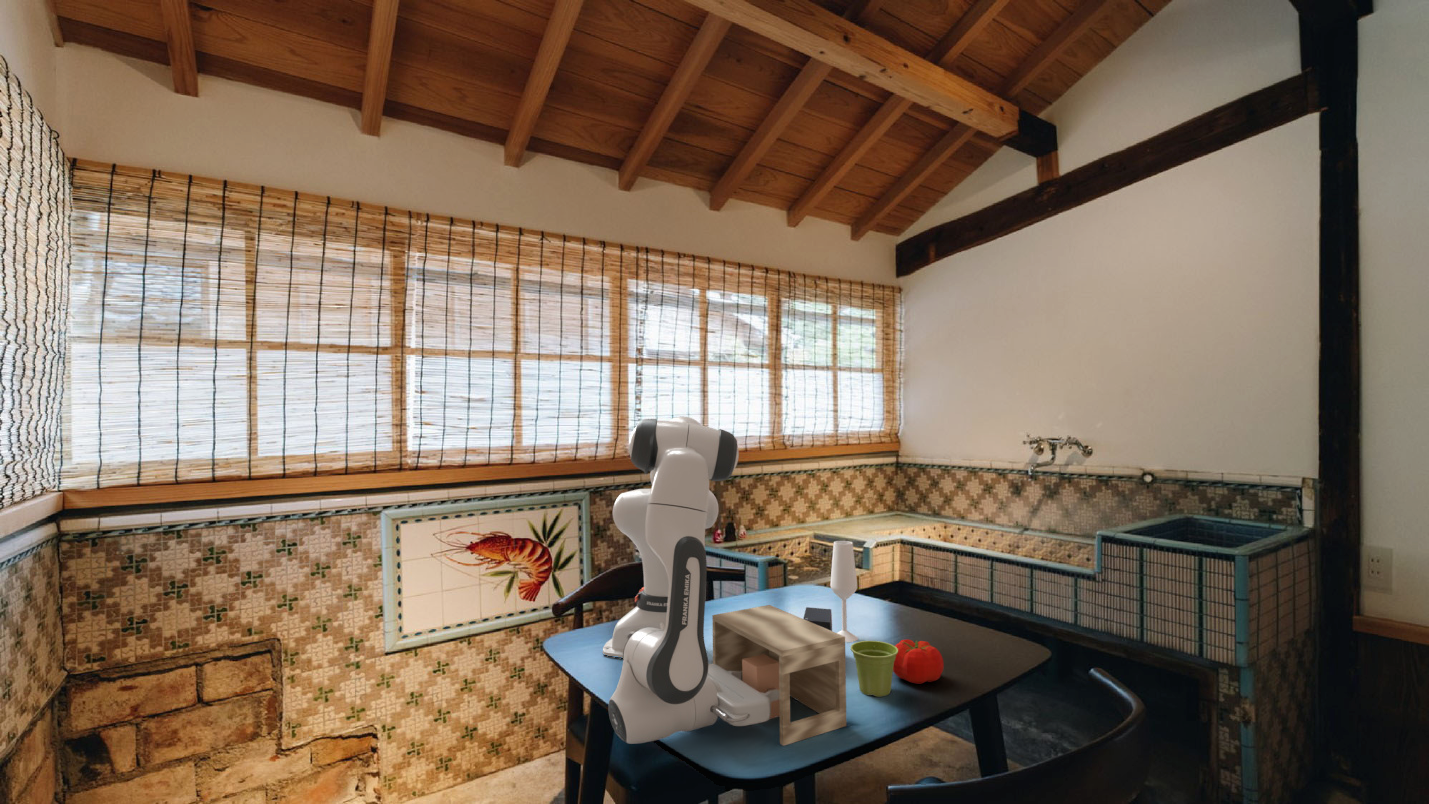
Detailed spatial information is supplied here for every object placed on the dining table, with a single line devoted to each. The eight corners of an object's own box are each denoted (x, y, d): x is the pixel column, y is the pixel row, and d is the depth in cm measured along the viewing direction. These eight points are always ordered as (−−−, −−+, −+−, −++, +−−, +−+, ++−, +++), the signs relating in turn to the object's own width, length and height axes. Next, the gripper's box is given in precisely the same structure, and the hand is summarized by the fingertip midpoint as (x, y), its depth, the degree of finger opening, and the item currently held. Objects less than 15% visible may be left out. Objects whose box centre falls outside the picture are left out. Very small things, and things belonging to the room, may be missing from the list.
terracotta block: (757, 722, 120) (756, 667, 121) (742, 712, 125) (742, 659, 125) (779, 716, 123) (779, 662, 123) (764, 706, 127) (763, 654, 128)
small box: (831, 668, 146) (831, 621, 146) (802, 667, 147) (801, 619, 148) (833, 652, 156) (832, 607, 157) (805, 650, 158) (804, 606, 158)
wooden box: (783, 745, 112) (782, 650, 112) (713, 695, 133) (712, 615, 133) (846, 725, 119) (845, 636, 119) (770, 680, 140) (769, 604, 140)
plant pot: (870, 704, 128) (869, 659, 128) (842, 686, 136) (841, 644, 136) (908, 696, 131) (908, 652, 132) (879, 679, 140) (878, 638, 140)
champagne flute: (857, 634, 169) (856, 540, 170) (858, 642, 162) (857, 545, 163) (831, 632, 170) (829, 539, 171) (831, 641, 164) (829, 544, 164)
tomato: (954, 685, 136) (953, 648, 137) (908, 692, 133) (907, 654, 133) (924, 666, 147) (923, 633, 147) (880, 672, 143) (879, 638, 144)
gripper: (728, 704, 109) (795, 686, 115) (673, 664, 126) (734, 651, 133) (728, 742, 108) (796, 722, 115) (673, 697, 126) (735, 682, 133)
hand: (762, 684), depth 124 cm, fingers open, 8 cm apart
